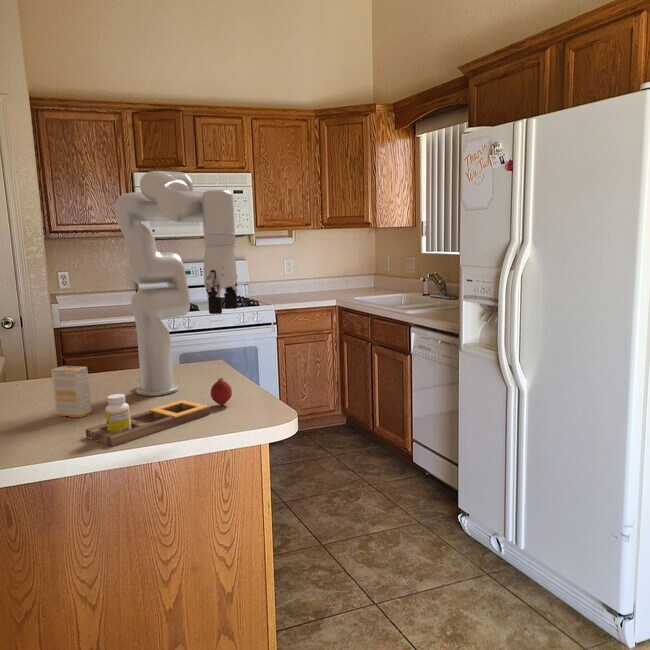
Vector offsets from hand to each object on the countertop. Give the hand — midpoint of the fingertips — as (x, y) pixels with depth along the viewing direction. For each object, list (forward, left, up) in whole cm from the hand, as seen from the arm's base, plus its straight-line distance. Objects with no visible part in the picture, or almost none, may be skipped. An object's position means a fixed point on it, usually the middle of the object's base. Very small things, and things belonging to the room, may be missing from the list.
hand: (223, 311), depth 150 cm
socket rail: (-14, -14, -28) cm, 34 cm away
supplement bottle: (-14, -23, -28) cm, 39 cm away
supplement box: (-40, -20, -28) cm, 53 cm away
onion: (-12, +8, -28) cm, 32 cm away
